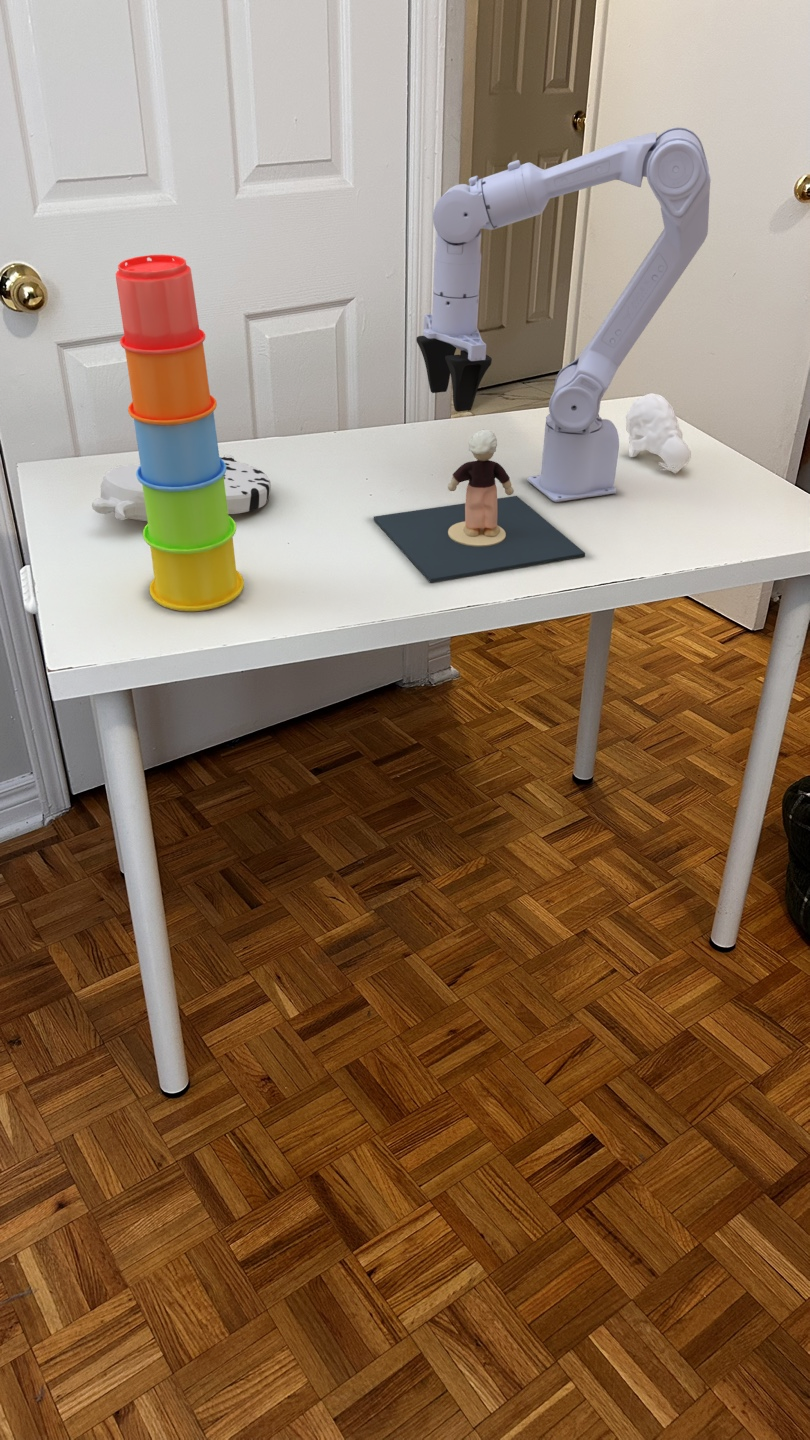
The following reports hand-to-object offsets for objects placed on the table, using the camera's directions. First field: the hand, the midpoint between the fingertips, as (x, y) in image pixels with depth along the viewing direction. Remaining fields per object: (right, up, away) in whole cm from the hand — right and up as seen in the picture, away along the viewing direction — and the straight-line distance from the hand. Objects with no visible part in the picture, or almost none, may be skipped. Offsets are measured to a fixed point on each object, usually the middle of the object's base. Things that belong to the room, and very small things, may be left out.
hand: (450, 400), depth 147 cm
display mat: (+3, -19, -10) cm, 22 cm away
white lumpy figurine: (+30, -5, +12) cm, 33 cm away
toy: (-34, -15, -4) cm, 37 cm away
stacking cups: (-29, -28, -23) cm, 46 cm away
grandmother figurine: (+3, -19, -10) cm, 22 cm away
